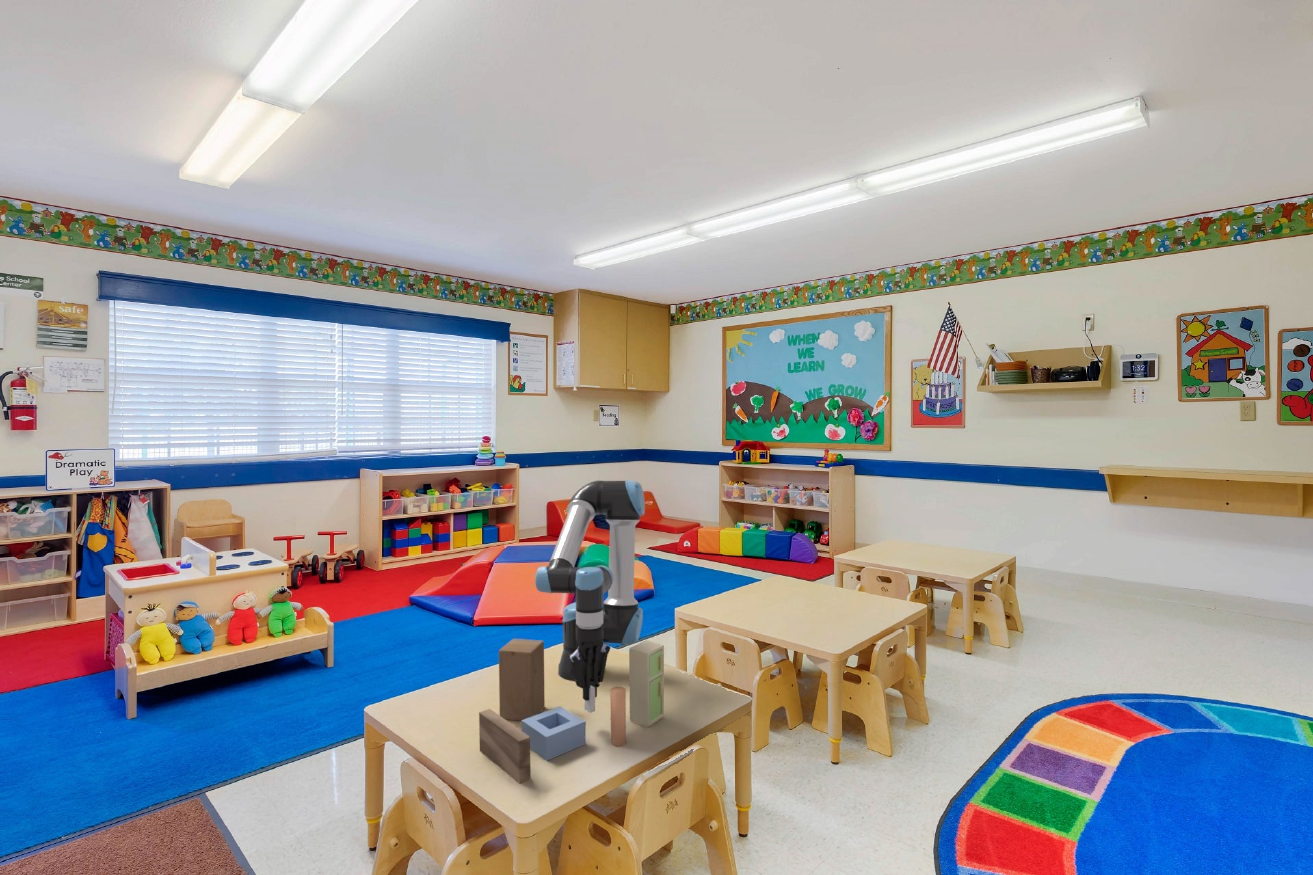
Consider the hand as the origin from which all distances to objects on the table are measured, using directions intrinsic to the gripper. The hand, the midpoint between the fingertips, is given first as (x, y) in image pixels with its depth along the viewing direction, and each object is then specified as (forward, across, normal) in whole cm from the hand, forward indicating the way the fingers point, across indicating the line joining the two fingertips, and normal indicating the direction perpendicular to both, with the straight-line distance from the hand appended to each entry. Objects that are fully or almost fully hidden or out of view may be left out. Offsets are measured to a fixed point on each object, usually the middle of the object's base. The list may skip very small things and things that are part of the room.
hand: (590, 710), depth 173 cm
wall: (+6, +26, 0) cm, 27 cm away
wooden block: (+5, +9, -21) cm, 24 cm away
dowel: (+5, -1, +11) cm, 12 cm away
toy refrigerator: (+5, -15, +7) cm, 18 cm away
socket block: (+5, +12, 0) cm, 13 cm away
